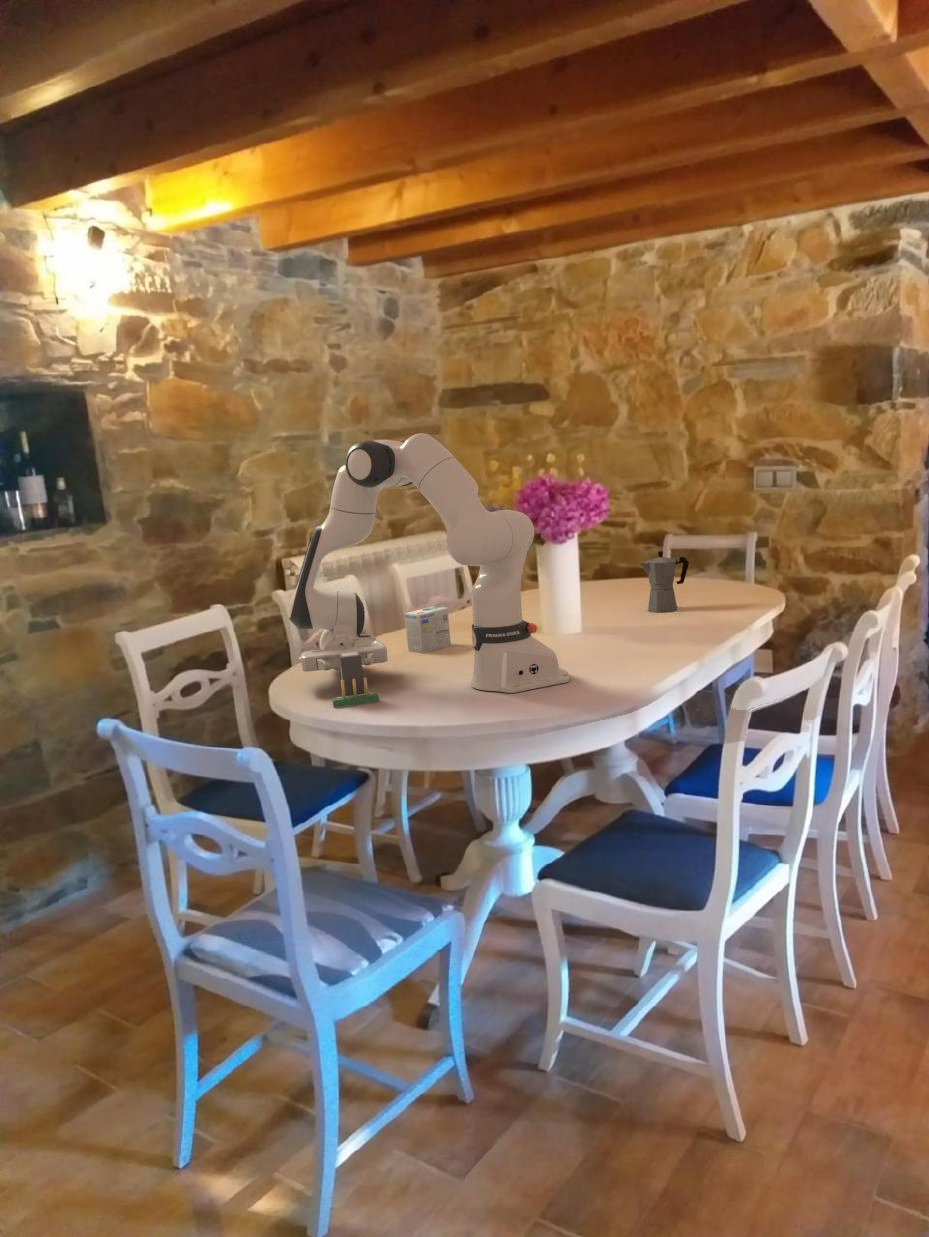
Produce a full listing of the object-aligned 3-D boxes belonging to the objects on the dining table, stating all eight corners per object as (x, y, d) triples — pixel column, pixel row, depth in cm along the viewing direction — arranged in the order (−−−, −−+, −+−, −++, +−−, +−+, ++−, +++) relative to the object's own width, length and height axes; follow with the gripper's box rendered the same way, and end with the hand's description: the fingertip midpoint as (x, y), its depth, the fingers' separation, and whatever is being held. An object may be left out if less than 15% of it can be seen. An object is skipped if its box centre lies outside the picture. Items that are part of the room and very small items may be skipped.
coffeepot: (647, 614, 278) (645, 554, 275) (636, 609, 287) (634, 551, 284) (696, 609, 280) (694, 549, 277) (683, 604, 290) (681, 546, 286)
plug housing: (363, 694, 212) (358, 650, 210) (365, 699, 208) (360, 654, 206) (343, 697, 211) (338, 653, 209) (345, 701, 207) (340, 657, 205)
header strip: (377, 699, 208) (375, 675, 207) (379, 701, 206) (376, 677, 205) (333, 705, 206) (330, 681, 205) (333, 707, 204) (331, 683, 203)
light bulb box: (435, 643, 262) (432, 605, 260) (452, 645, 257) (449, 607, 255) (406, 651, 254) (403, 612, 252) (423, 653, 250) (419, 614, 247)
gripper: (296, 644, 224) (300, 656, 211) (381, 634, 228) (389, 645, 215) (299, 669, 225) (303, 683, 212) (383, 659, 229) (392, 672, 216)
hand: (347, 664), depth 213 cm, fingers open, 8 cm apart
